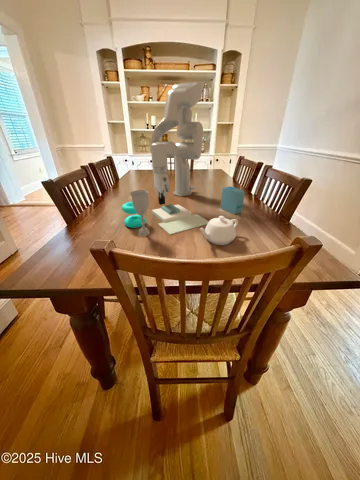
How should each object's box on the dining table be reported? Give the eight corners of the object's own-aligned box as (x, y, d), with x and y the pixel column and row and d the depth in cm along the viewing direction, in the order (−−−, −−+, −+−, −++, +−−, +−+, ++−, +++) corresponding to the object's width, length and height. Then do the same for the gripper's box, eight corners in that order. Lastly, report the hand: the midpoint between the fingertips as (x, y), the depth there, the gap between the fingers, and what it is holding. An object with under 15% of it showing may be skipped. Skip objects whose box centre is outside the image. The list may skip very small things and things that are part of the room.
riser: (178, 207, 113) (178, 204, 112) (191, 216, 102) (191, 212, 101) (152, 213, 106) (151, 209, 105) (163, 223, 95) (163, 219, 94)
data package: (241, 213, 105) (245, 191, 99) (235, 215, 103) (238, 192, 97) (226, 206, 114) (228, 185, 108) (220, 208, 112) (222, 186, 106)
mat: (196, 214, 104) (196, 214, 103) (210, 223, 95) (210, 222, 94) (158, 224, 94) (157, 223, 94) (169, 234, 85) (169, 233, 85)
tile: (171, 206, 109) (171, 204, 108) (179, 212, 102) (179, 209, 101) (161, 209, 106) (161, 206, 105) (169, 214, 99) (169, 211, 99)
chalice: (138, 238, 82) (132, 196, 73) (133, 232, 88) (127, 191, 79) (154, 234, 85) (151, 193, 76) (149, 228, 91) (145, 189, 82)
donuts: (120, 208, 85) (122, 201, 93) (124, 229, 90) (125, 220, 98) (144, 207, 86) (143, 199, 95) (146, 227, 91) (145, 219, 100)
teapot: (209, 254, 72) (211, 229, 67) (189, 240, 81) (189, 217, 76) (247, 239, 81) (251, 216, 76) (225, 227, 90) (227, 206, 85)
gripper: (173, 171, 98) (174, 206, 107) (160, 166, 109) (162, 199, 118) (159, 173, 95) (161, 209, 104) (147, 168, 106) (150, 201, 115)
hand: (162, 203), depth 111 cm, fingers closed
